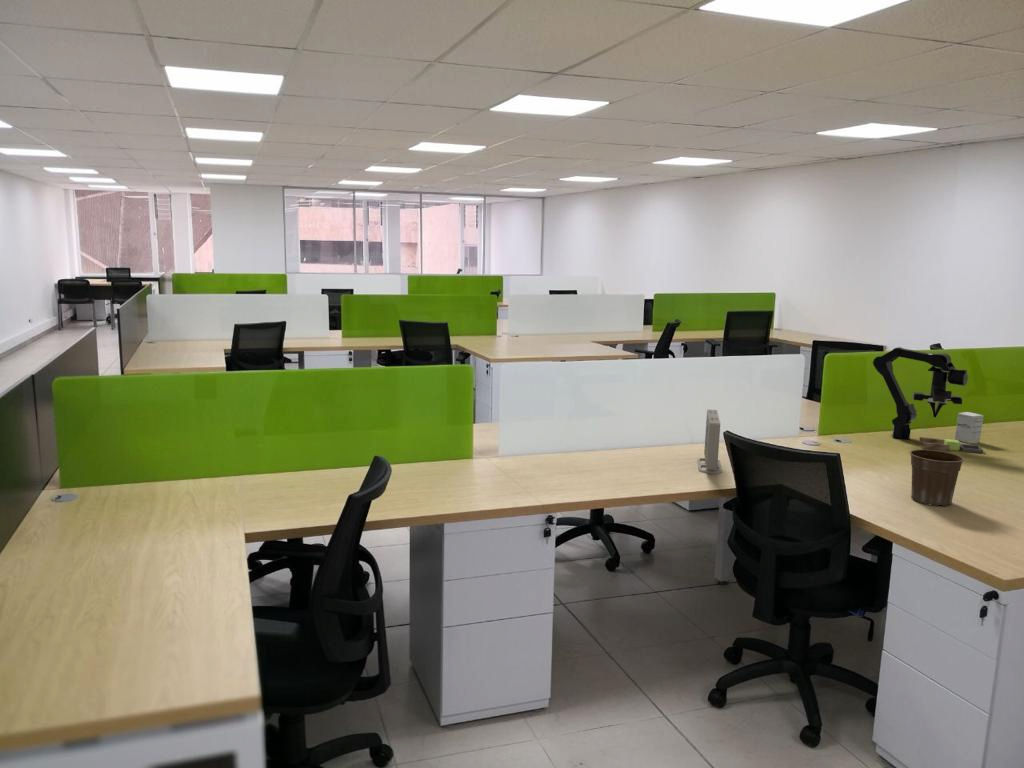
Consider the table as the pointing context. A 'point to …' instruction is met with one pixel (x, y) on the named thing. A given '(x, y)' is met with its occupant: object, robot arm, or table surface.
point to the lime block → (952, 444)
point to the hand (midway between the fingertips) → (934, 417)
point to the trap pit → (971, 448)
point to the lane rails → (934, 444)
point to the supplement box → (969, 427)
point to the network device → (711, 444)
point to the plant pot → (934, 476)
